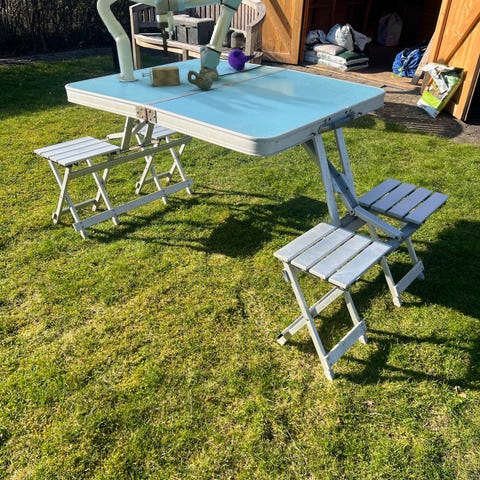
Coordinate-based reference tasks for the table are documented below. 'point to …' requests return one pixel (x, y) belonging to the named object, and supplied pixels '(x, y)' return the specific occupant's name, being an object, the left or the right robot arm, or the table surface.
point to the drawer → (148, 75)
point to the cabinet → (166, 76)
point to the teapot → (202, 78)
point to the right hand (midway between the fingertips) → (166, 55)
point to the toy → (238, 59)
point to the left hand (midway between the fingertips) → (170, 39)
